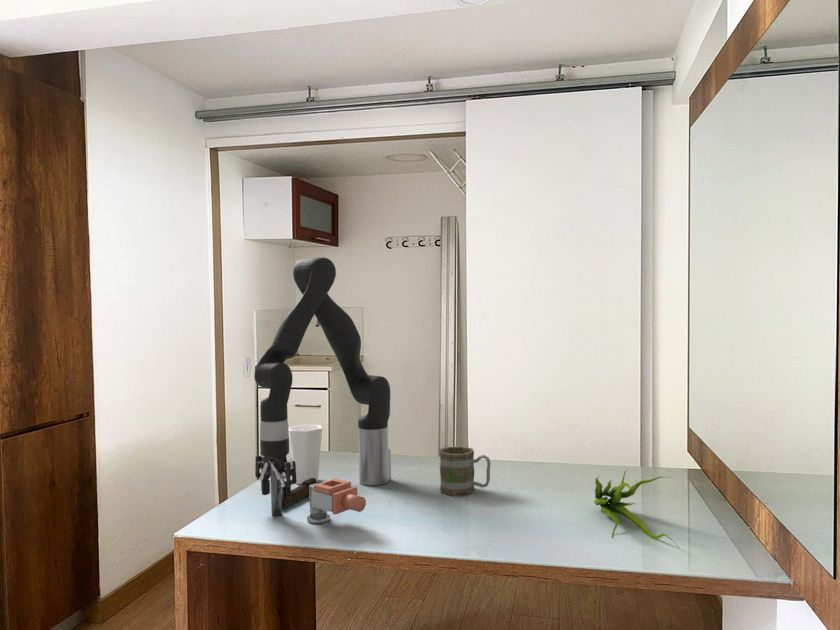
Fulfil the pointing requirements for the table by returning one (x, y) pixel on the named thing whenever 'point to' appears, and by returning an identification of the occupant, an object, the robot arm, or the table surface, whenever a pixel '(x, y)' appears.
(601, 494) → the decorative plant
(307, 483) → the hand tool
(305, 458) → the cup
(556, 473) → the table surface
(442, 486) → the mug
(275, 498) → the steel pin
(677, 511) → the table surface
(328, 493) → the bracket
